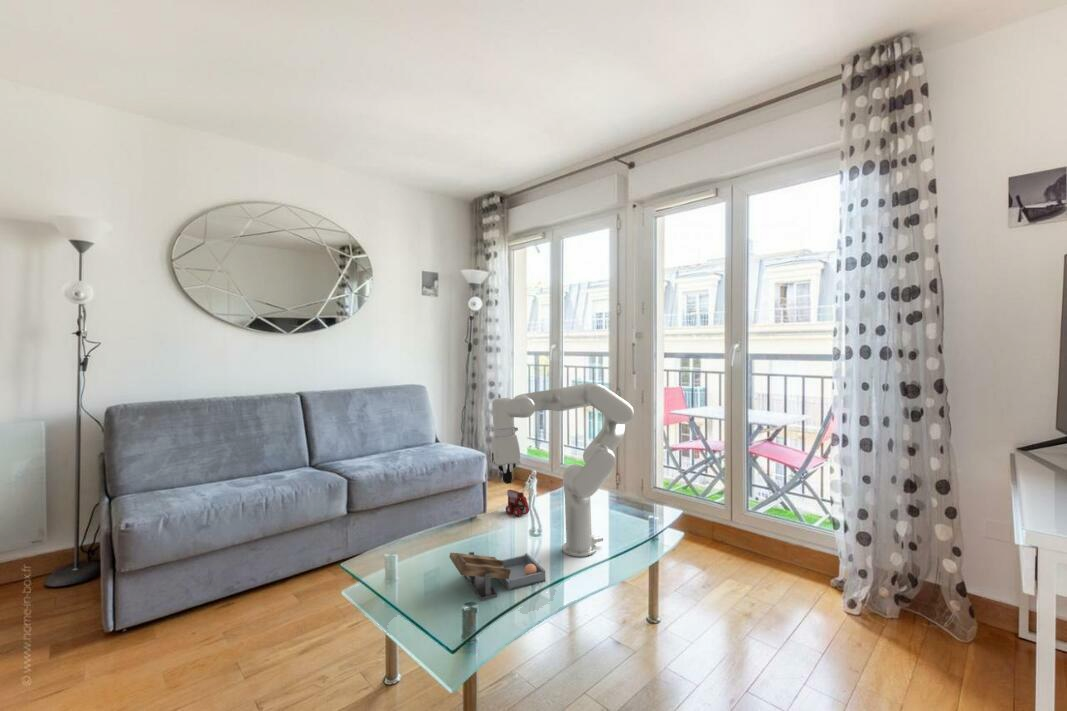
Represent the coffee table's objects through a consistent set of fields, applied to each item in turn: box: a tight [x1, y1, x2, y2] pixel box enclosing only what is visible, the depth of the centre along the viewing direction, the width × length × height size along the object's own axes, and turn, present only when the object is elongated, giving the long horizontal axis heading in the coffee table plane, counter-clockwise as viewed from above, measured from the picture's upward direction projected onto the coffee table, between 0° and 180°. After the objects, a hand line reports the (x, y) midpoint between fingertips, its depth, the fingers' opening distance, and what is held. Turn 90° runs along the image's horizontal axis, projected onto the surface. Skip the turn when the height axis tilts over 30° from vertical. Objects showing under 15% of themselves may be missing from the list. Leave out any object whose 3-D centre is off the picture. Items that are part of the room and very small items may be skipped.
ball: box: [525, 564, 537, 575], centre depth 156 cm, size 4×4×4 cm
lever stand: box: [463, 551, 498, 602], centre depth 152 cm, size 5×19×8 cm, turn 24°
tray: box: [498, 552, 547, 591], centre depth 157 cm, size 13×15×4 cm
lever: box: [449, 552, 511, 579], centre depth 152 cm, size 16×15×4 cm
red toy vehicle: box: [505, 489, 530, 518], centre depth 218 cm, size 7×12×10 cm, turn 47°
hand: (507, 482), depth 171 cm, fingers closed
